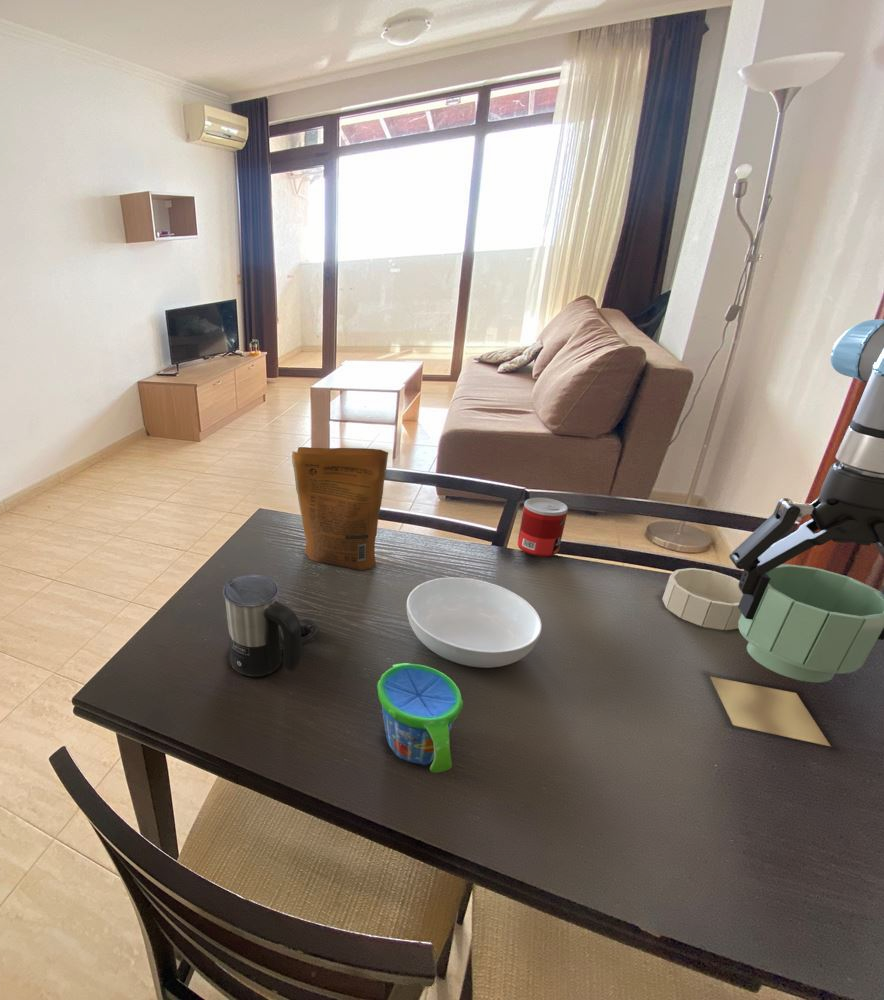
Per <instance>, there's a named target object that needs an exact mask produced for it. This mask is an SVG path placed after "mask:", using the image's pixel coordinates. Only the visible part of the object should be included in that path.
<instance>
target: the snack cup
mask: <svg viewBox="0 0 884 1000" xmlns="http://www.w3.org/2000/svg"><path fill="white" fill-rule="evenodd" d="M376 688H377V694H378V701H379V702H380V704H381V708H382V710H381V711H382V716H383V717H382V718H383V723H384V724H383V725H384V732H385V736H386V741H387V744H388V746H389V747H390V749H391V751H392V752H393V753H394V755H395V756H397V757H398V758H399V759H401V760H404V761H406V762H407V763H408V762H409V763H412V764H416V765H417V764H418V765H423V766H426V765H430V767H429V770H430V772H431V773H436V774H438V773H444V772H447V771H449V770H450V769H451V768H452V766H453V763H452V756H451V746H450V745H451V744H450V742H451V741H450V734H451V730H452V727H453V725H454V723H455V720H457V718H458V717H459V715H460V712H461V711H462V710H463V706H464V701H463V699H462V695H461V691H460V689H459V687H458V685H456V683H455V682H454V681H453V679H451V678H450V677H449V676H447V675H446V674H445V673H443V672H441V671H440V670H437V669H436V668H433V667H430V666H427V665H423V664H417V663H416V664H415V663H408V662H406V663H405V662H403V663H396V664H392V665H391V667H390V668H389V669H387V670H386V671H384V673H383V674H381V676H380V679H379V680H378V681H377V684H376Z"/></svg>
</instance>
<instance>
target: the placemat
mask: <svg viewBox="0 0 884 1000" xmlns="http://www.w3.org/2000/svg"><path fill="white" fill-rule="evenodd" d="M709 677H710V680H711V682H712V683H713V686H714V689H715V690H716V692H717V695H718V697H719V699H720V701H721V703H722V705H723V707H724V709H725V711H726V713H727V716H728V717H729V719H730V722H731V724H732V725H733V726H734V727H739V728H744V729H748V730H753V731H758V732H763V733H767V734H771V735H777V736H781V737H786V738H790V739H794V740H798V741H803V742H809V743H813V744H818V745H823V746H827V747H831V744H830V743H829V741H828V740H827V737H825V734H824V733H823V732H822V730H821V729H820V727H819V726H818V724H817V722H816V721H815V720H814V718H813V716H812V715H811V713H810V712H809V710H808V709H807V707H806V706H805V703H803V701H802V699H801V698H800V696H799V695H798V693H797V692H792V691H788V690H783V689H777V688H773V687H768V686H767V687H766V686H761V685H756V684H752V683H751V684H750V683H745V682H740V681H735V680H730V679H725V678H719V677H715V676H709Z"/></svg>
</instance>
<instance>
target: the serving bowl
mask: <svg viewBox="0 0 884 1000" xmlns="http://www.w3.org/2000/svg"><path fill="white" fill-rule="evenodd" d="M406 614H407V615H406V616H407V618H408V622H409V625H410V628H411V629H412V631H413V633H414V634H415V636H416V637H417V638H418V640H419V641H420V642H421V643H422V644H423V646H425V647H427V648H428V649H429V650H430V651H431V652H433V653H434V654H436V655H438V656H439V657H441V658H443V659H445V660H448V661H450V662H453V663H456V664H459V665H463V666H467V667H473V668H482V669H483V668H485V669H486V668H487V669H488V668H498V667H499V668H501V667H504V666H508V665H512V664H513V663H516V662H518V661H520V660H522V659H523V658H524V657H526V656H527V655H528V654H529V653H531V651H532V650H533V649H534V648H535V646H536V644H537V643H538V641H539V639H540V636H541V633H542V630H543V625H542V620H541V617H540V615H539V613H538V612H537V610H536V609H535V608H534V607H533V606H532V605H531V604H530V603H529V602H528V601H527V600H525V598H523V597H522V596H519V595H518V594H516V593H515V592H514V591H511V590H509V589H507V588H505V587H503V586H500V585H497V584H494V583H491V582H488V581H484V580H479V579H475V578H469V577H468V578H467V577H441V578H435V579H431V580H427V581H425V582H422V583H421V584H419V585H417V586H416V587H414V588H413V590H412V591H411V592H410V593H409V594H408V597H407V600H406Z"/></svg>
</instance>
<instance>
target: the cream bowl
mask: <svg viewBox="0 0 884 1000" xmlns="http://www.w3.org/2000/svg"><path fill="white" fill-rule="evenodd" d="M739 581H740V579H738V578H735V577H733V576H731V575H727V574H724V573H721V572H718V571H715V570H710V569H702V568H697V567H687V568H679V569H676V570H674V571H673V572H672V573H671V574H670V575H669V578H668V581H667V583H666V586H665V589H664V593H663V596H662V602H663V604H664V606H665V609H666V610H668V611H669V612H671V613H672V614H673V615H675V616H677V617H678V618H680V619H682V620H684V621H687V622H689V623H692V624H695V625H697V626H700V627H703V628H707V629H708V628H709V629H715V630H720V631H729V630H736V629H738V630H739V627H738V625H739V624H738V623H739V622H738V621H739V619H740V617H741V614H742V612H741V611H740V609H739V608H738V605H739V603H740V601H741V598H742V596H743V593H742V592H741V590H740V589H739V586H738V584H739Z"/></svg>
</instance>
